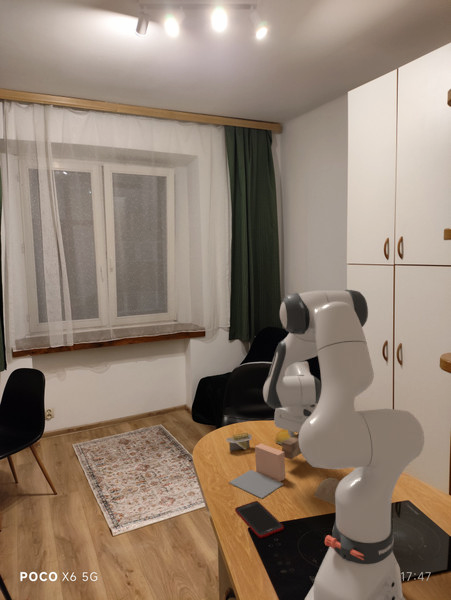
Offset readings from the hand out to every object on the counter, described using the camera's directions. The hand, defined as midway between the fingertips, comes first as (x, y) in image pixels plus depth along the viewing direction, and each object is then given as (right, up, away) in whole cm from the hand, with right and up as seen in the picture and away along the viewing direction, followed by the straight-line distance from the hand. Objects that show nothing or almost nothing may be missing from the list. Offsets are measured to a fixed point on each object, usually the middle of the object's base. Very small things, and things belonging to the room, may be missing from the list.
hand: (300, 444), depth 148 cm
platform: (-20, -7, +13) cm, 25 cm away
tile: (-11, -8, -7) cm, 15 cm away
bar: (0, -2, 0) cm, 2 cm away
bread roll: (-2, -5, +19) cm, 19 cm away
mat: (-16, -8, -12) cm, 22 cm away
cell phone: (-17, -11, -30) cm, 36 cm away
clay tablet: (+8, -9, -19) cm, 23 cm away
